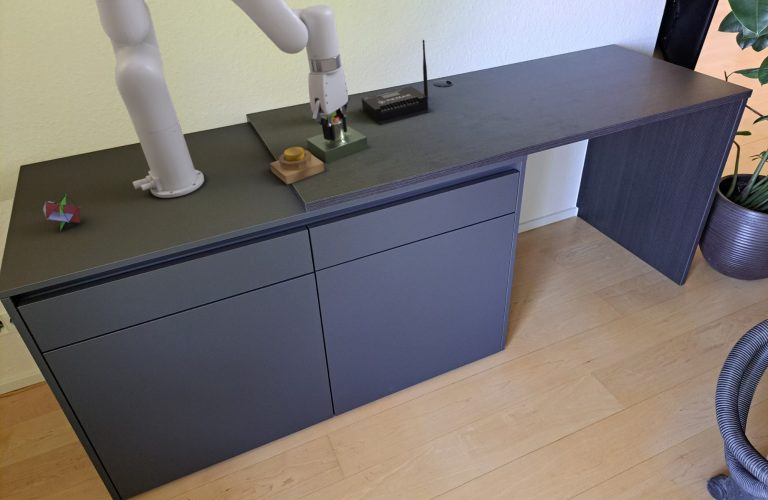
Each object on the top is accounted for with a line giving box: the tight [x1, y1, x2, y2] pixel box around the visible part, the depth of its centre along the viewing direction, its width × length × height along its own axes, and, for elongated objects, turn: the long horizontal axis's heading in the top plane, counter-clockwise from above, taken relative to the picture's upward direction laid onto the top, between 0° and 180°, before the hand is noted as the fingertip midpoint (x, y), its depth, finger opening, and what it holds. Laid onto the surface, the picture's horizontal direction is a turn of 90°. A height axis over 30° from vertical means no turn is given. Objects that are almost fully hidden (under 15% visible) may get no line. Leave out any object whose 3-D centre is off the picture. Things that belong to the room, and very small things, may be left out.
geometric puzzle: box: [42, 194, 81, 232], centre depth 122 cm, size 7×7×8 cm
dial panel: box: [306, 125, 369, 163], centre depth 142 cm, size 12×10×3 cm
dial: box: [329, 117, 345, 141], centre depth 140 cm, size 4×4×5 cm
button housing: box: [269, 149, 325, 185], centre depth 134 cm, size 10×9×4 cm
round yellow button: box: [283, 146, 305, 161], centre depth 132 cm, size 5×5×2 cm
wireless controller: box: [360, 39, 431, 126], centre depth 156 cm, size 20×14×17 cm
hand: (335, 134), depth 141 cm, fingers closed on dial, 4 cm apart
